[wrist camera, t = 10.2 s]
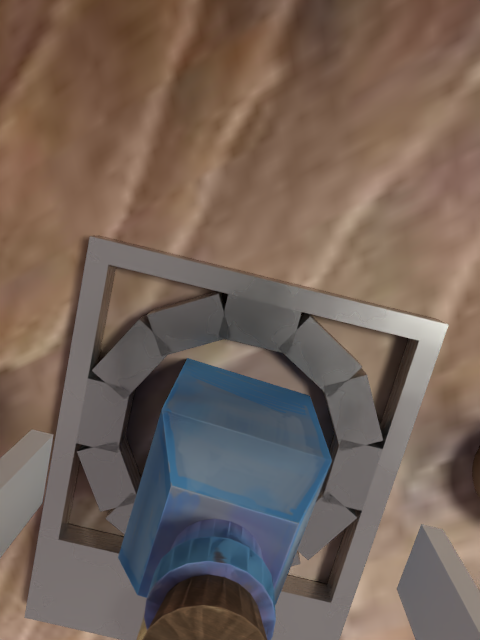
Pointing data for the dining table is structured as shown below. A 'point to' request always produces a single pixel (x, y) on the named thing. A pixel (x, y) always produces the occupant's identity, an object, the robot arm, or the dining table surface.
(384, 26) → the dining table surface
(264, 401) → the perfume bottle
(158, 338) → the plate
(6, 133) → the dining table surface
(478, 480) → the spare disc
